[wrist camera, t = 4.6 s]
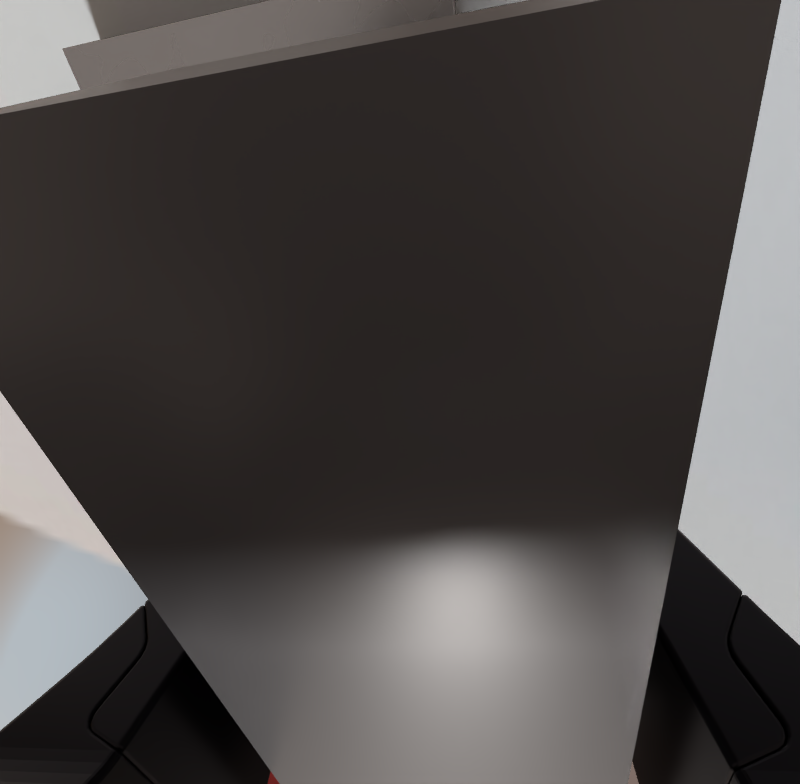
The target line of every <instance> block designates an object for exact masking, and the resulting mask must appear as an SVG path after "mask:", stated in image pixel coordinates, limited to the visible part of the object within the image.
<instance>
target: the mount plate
mask: <svg viewBox="0 0 800 784" xmlns="http://www.w3.org/2000/svg"><path fill="white" fill-rule="evenodd" d="M455 14H456V11H455V1H454V0H268V1H264V2H260V3H256V4H251V5H247V6H243V7H238V8H234V9H230V10H226V11H221V12H217V13H213V14H209V15H204V16H200V17H196V18H191V19H187V20H183V21H179V22H174V23H170V24H166V25H162V26H157V27H153V28H149V29H144V30H140V31H136V32H132V33H127V34H123V35H119V36H115V37H110V38H106V39H102V40H97V41H93V42H89V43H85V44H80V45H76V46H72V47H68V48H63V51H64V54H65V56H66V58H67V60H68V63H69V65H70V67H71V69H72V71H73V74H74V76H75V78H76V80H77V83H78V85H79V87H80V89H81V90H82V89H87V88H91V87H96V86H100V85H104V84H109V83H113V82H118V81H122V80H127V79H131V78H136V77H140V76H144V75H149V74H153V73H158V72H162V71H167V70H171V69H176V68H182V67H187V66H192V65H197V64H202V63H207V62H212V61H218V60H223V59H228V58H233V57H238V56H243V55H249V54H254V53H259V52H264V51H269V50H274V49H279V48H285V47H290V46H295V45H300V44H305V43H310V42H316V41H321V40H326V39H331V38H336V37H341V36H346V35H352V34H357V33H362V32H367V31H372V30H377V29H383V28H388V27H393V26H398V25H403V24H408V23H413V22H419V21H424V20H429V19H434V18H439V17H444V16H450V15H455Z"/></svg>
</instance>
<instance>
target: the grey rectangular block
mask: <svg viewBox="0 0 800 784" xmlns="http://www.w3.org/2000/svg"><path fill="white" fill-rule="evenodd" d="M780 4H781V0H527V1H522V2H517V3H511V4H506V5H501V6H496V7H491V8H486V9H480V10H475V11H470V12H465V13H460V14H455V15H450V16H444V17H439V18H434V19H429V20H424V21H419V22H413V23H408V24H403V25H398V26H393V27H388V28H383V29H377V30H372V31H367V32H362V33H357V34H352V35H346V36H341V37H336V38H331V39H326V40H321V41H316V42H310V43H305V44H300V45H295V46H290V47H285V48H279V49H274V50H269V51H264V52H259V53H254V54H249V55H243V56H238V57H233V58H228V59H223V60H218V61H212V62H207V63H202V64H197V65H192V66H187V67H182V68H176V69H171V70H167V71H162V72H158V73H153V74H149V75H144V76H140V77H136V78H131V79H127V80H122V81H118V82H113V83H109V84H104V85H100V86H96V87H91V88H87V89H82V90H78V91H73V92H69V93H65V94H60V95H56V96H51V97H47V98H42V99H38V100H34V101H29V102H25V103H20V104H16V105H11V106H7V107H3V108H0V391H1V393H2V394H3V396H4V397H5V398H6V400H7V401H8V403H9V404H10V405H11V407H12V408H13V410H14V411H15V412H16V414H17V415H18V417H19V418H20V419H21V421H22V422H23V424H24V425H25V426H26V428H27V429H28V431H29V432H30V434H31V435H32V436H33V438H34V439H35V441H36V442H37V443H38V445H39V446H40V448H41V449H42V450H43V452H44V453H45V455H46V456H47V457H48V459H49V460H50V462H51V463H52V464H53V466H54V467H55V469H56V470H57V471H58V473H59V474H60V476H61V477H62V479H63V480H64V481H65V483H66V484H67V486H68V487H69V488H70V490H71V491H72V493H73V494H74V495H75V497H76V498H77V500H78V501H79V502H80V504H81V505H82V507H83V508H84V509H85V511H86V512H87V514H88V515H89V516H90V518H91V519H92V521H93V522H94V523H95V525H96V526H97V528H98V529H99V531H100V532H101V533H102V535H103V536H104V538H105V539H106V540H107V542H108V543H109V545H110V546H111V547H112V549H113V550H114V552H115V553H116V554H117V556H118V557H119V559H120V560H121V561H122V563H123V564H124V566H125V567H126V568H127V570H128V571H129V573H130V574H131V575H132V577H133V578H134V580H135V581H136V582H137V584H138V585H139V587H140V588H141V590H142V591H143V592H144V594H145V595H146V597H147V598H148V599H149V601H150V602H151V604H152V605H153V606H154V608H155V609H156V611H157V612H158V613H159V615H160V616H161V618H162V619H163V620H164V622H165V623H166V625H167V626H168V628H169V629H170V630H171V632H172V633H173V635H174V636H175V637H176V639H177V640H178V642H179V643H180V644H181V646H182V647H183V649H184V650H185V651H186V653H187V654H188V656H189V657H190V658H191V660H192V661H193V663H194V664H195V665H196V667H197V668H198V670H199V671H200V672H201V674H202V675H203V677H204V678H205V680H206V681H207V682H208V684H209V685H210V687H211V688H212V689H213V691H214V692H215V694H216V695H217V696H218V698H219V699H220V701H221V702H222V703H223V705H224V706H225V708H226V709H227V710H228V712H229V713H230V715H231V716H232V717H233V719H234V720H235V722H236V723H237V724H238V726H239V727H240V729H241V730H242V732H243V733H244V734H245V736H246V737H247V739H248V740H249V741H250V743H251V744H252V746H253V747H254V748H255V750H256V751H257V753H258V754H259V755H260V757H261V758H262V760H263V761H264V762H265V764H266V765H267V767H268V768H269V769H270V771H271V772H272V774H273V775H274V777H275V778H276V779H277V781H278V782H279V784H628V780H629V774H630V769H631V764H632V759H633V754H634V749H635V744H636V739H637V734H638V729H639V723H640V718H641V713H642V708H643V703H644V698H645V693H646V688H647V683H648V678H649V672H650V667H651V662H652V657H653V652H654V647H655V642H656V637H657V632H658V626H659V621H660V616H661V611H662V606H663V601H664V596H665V591H666V586H667V581H668V575H669V570H670V565H671V560H672V555H673V550H674V545H675V540H676V535H677V529H678V524H679V519H680V514H681V509H682V504H683V499H684V494H685V489H686V484H687V478H688V473H689V468H690V463H691V458H692V453H693V448H694V443H695V438H696V433H697V427H698V422H699V417H700V412H701V407H702V402H703V397H704V392H705V387H706V381H707V376H708V371H709V366H710V361H711V356H712V351H713V346H714V341H715V336H716V330H717V325H718V320H719V315H720V310H721V305H722V300H723V295H724V290H725V284H726V279H727V274H728V269H729V264H730V259H731V254H732V249H733V244H734V239H735V233H736V228H737V223H738V218H739V213H740V208H741V203H742V198H743V193H744V188H745V182H746V177H747V172H748V167H749V162H750V157H751V152H752V147H753V142H754V136H755V131H756V126H757V121H758V116H759V111H760V106H761V101H762V96H763V91H764V85H765V80H766V75H767V70H768V65H769V60H770V55H771V50H772V45H773V39H774V34H775V29H776V24H777V19H778V14H779V9H780Z"/></svg>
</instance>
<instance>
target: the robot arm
mask: <svg viewBox="0 0 800 784" xmlns="http://www.w3.org/2000/svg"><path fill="white" fill-rule="evenodd" d="M741 595H742V591H741V590H740V589H739V588H738V587H737V586H736V585H735V584H734V583H733V582H732V581H731V580H730V579H729V578H728V577H727V576H726V575H725V574H724V573H723V572H722V571H721V570H720V569H719V568H718V567H717V566H716V565H715V564H713V563H712V562H711V561H710V560H709V559H708V558H707V557H706V556H705V555H704V554H703V553H702V552H701V551H700V550H699V549H698V548H697V547H696V546H695V545H694V544H693V543H692V542H691V541H690V540H689V539H688V538H687V537H686V536H685V535H684V534H683V533H682V532H680V531H679V530H678V529H677V535H676V540H675V545H674V550H673V555H672V560H671V565H670V570H669V575H668V581H667V586H666V591H665V596H664V601H663V606H662V611H661V616H660V621H659V626H658V632H657V637H656V642H655V647H654V652H653V657H652V662H651V667H650V672H649V678H648V683H647V688H646V693H645V698H644V703H643V708H642V713H641V718H640V723H639V729H638V734H637V739H636V744H635V749H634V754H633V759H632V761H633V765H634V768H635V771H636V775H637V779H638V782H639V784H800V645H799V644H798V643H797V642H795V641H794V640H793V639H792V638H791V637H790V636H789V635H788V634H787V633H786V632H785V631H784V630H782V629H781V628H780V627H779V626H778V625H777V624H776V623H775V622H774V621H773V620H772V619H771V618H770V617H768V616H767V615H766V614H765V613H764V612H763V611H762V610H761V609H760V608H759V607H758V606H757V605H756V604H755V603H754V602H753V601H752V600H751V599H750V598H749V597H748V596H746V595H742V596H741ZM269 776H270V769H269V768H268V767H267V765H266V764H265V762H264V761H263V760H262V758H261V757H260V755H259V754H258V753H257V751H256V750H255V748H254V747H253V746H252V744H251V743H250V741H249V740H248V739H247V737H246V736H245V734H244V733H243V732H242V730H241V729H240V727H239V726H238V724H237V723H236V722H235V720H234V719H233V717H232V716H231V715H230V713H229V712H228V710H227V709H226V708H225V706H224V705H223V703H222V702H221V701H220V699H219V698H218V696H217V695H216V694H215V692H214V691H213V689H212V688H211V687H210V685H209V684H208V682H207V681H206V680H205V678H204V677H203V675H202V674H201V672H200V671H199V670H198V668H197V667H196V665H195V664H194V663H193V661H192V660H191V658H190V657H189V656H188V654H187V653H186V651H185V650H184V649H183V647H182V646H181V644H180V643H179V642H178V640H177V639H176V637H175V636H174V635H173V633H172V632H171V630H170V629H169V628H168V626H167V625H166V623H165V622H164V620H163V619H162V618H161V616H160V615H159V613H158V612H157V611H156V609H155V608H154V606H153V605H152V604H151V602H150V601H149V599H148V600H147V601H146V603H145V606H141V607H140V608H139V609H138V610H137V611H136V612H135V613H134V614H132V615H131V616H130V617H129V618H128V619H127V620H126V621H125V622H124V623H123V624H122V625H121V626H120V627H119V628H118V629H117V630H116V631H115V632H114V633H112V635H110V636H109V637H108V638H107V639H106V640H105V641H104V642H103V643H102V644H101V645H100V646H99V647H98V648H96V649H95V650H94V651H93V652H92V653H91V654H90V655H89V656H87V657H86V658H85V659H84V660H83V661H82V662H81V663H79V664H78V665H77V666H76V667H75V668H74V669H72V670H71V671H70V672H69V673H68V674H67V675H66V676H65V677H63V678H62V679H61V680H60V681H59V682H57V683H56V684H55V685H54V686H53V687H52V688H50V689H49V690H48V691H47V692H46V693H44V694H43V695H42V696H41V697H40V698H39V699H37V700H36V701H35V702H34V703H33V704H31V706H29V707H28V708H27V709H26V710H24V711H23V712H22V713H21V714H20V715H19V716H17V717H16V718H15V719H14V720H13V721H11V722H10V723H9V724H8V725H7V726H5V727H4V728H3V729H2V730H1V731H0V784H268V780H269Z"/></svg>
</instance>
